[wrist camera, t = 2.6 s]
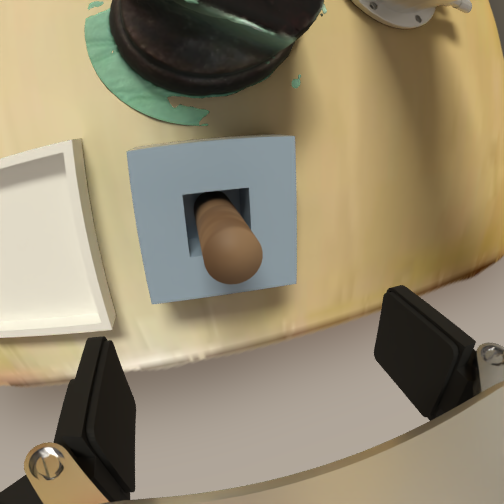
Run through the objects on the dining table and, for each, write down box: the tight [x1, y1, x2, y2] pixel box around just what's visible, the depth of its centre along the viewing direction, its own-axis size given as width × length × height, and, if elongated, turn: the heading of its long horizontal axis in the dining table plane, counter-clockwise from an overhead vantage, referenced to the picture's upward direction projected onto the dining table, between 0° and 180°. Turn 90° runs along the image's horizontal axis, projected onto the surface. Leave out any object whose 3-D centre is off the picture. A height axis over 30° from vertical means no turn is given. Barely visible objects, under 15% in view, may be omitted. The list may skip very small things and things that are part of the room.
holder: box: [127, 134, 297, 304], centre depth 24 cm, size 11×11×5 cm
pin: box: [194, 191, 263, 284], centre depth 21 cm, size 3×3×10 cm
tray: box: [0, 138, 116, 338], centre depth 22 cm, size 16×16×2 cm
